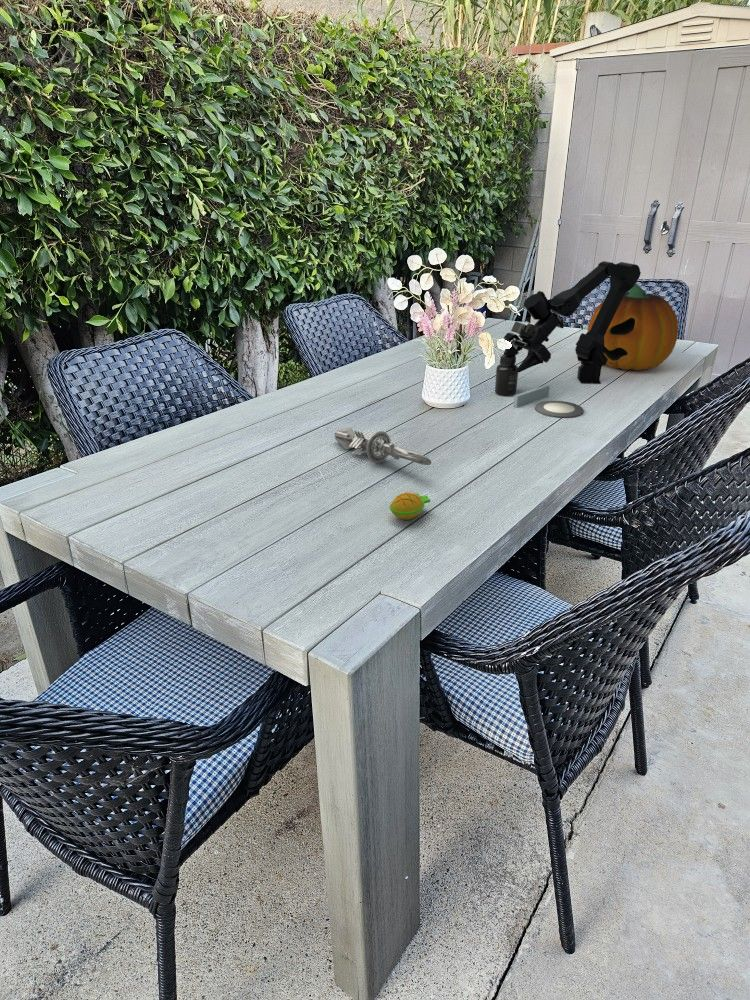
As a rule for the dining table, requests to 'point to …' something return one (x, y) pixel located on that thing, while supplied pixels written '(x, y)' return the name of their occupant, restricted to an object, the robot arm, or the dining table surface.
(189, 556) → the dining table surface
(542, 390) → the acrylic wall
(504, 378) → the supplement bottle
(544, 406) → the mat
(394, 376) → the dining table surface
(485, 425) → the dining table surface
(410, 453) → the spaceship
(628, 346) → the decorative pumpkin
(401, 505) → the orange green rounded piece
